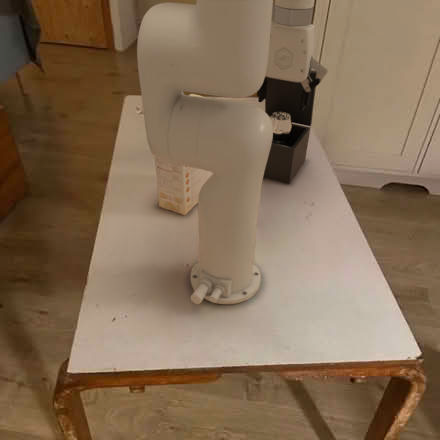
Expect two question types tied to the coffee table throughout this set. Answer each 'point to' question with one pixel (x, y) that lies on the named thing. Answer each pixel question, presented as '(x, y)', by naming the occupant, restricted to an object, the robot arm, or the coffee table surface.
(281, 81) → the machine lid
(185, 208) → the coffeecake box
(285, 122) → the wineglass
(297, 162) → the trash bin
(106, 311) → the coffee table surface
